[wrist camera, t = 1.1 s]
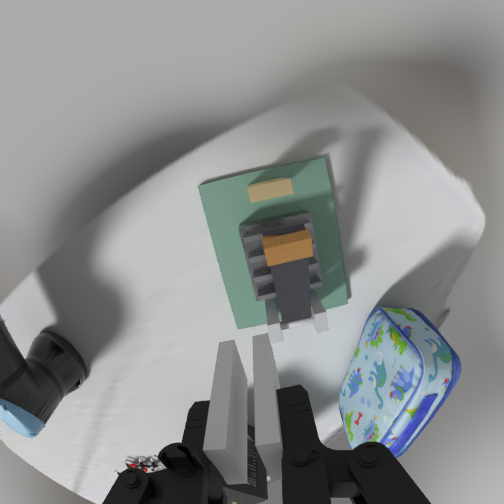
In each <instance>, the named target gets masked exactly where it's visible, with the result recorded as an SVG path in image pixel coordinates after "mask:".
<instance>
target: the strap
mask: <svg viewBox="0 0 504 504" xmlns="http://www.w3.org/2000/svg"><path fill="white" fill-rule="evenodd" d="M262 234H263V237H261V239H262V243H263V248H264V252H265V256H266V261H267V265H268V266H270V269H271V273H272V278H273V282H274V286H275V291H276V295H277V300H278V304H279V309H280V314H281V318H282V323H283V324H286V323H290V322H295V321H299V320H303V319H307V318H311V317H312V316H311V294H310V276H309V261H308V257H311V256H313V250H312V237H311V235H310V233H309V230H308V228H307V227H305V226H304V223H301V224H297V225H292V226H288V227H284V228H279V229H275V230H270V231H266V232H262Z"/></svg>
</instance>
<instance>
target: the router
mask: <svg viewBox="0 0 504 504" xmlns="http://www.w3.org/2000/svg"><path fill="white" fill-rule="evenodd" d="M267 476H269V474H268V472H267V470H266V468H265V466H264V463H263V461H262V459H261V457H260V455H259V453H258V450H257V448H256V446H255V428H253V427H251V426H249V425H247V483H245V484H230V485H228V484H227V483H226V482H225V480H224V483H223V489H224V490H225V491H226V495H227V504H257V503H259V502H262V501H265V500H267V499H268V494H267Z"/></svg>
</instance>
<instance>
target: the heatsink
mask: <svg viewBox="0 0 504 504" xmlns="http://www.w3.org/2000/svg"><path fill="white" fill-rule="evenodd" d="M301 223H304V226H305V227H307V228H308V230H309V233H310V235H311V237H312V250H313V256H311V257H308V261H309V276H310V289H313V288H317V287H321V286H323V281H322V275H321V269H320V262H319V256H318V250H317V245H316V239H315V234H314V228H313V223H312V218H311V212H309V211H307V210H306V209H305V210H301V211H296V212H291V213H287V214H282V215H278V216H274V217H269V218H265V219H260V220H256V221H252V222H247V223H243V224H239V228H238V229H239V233H240V237H241V241H242V245H243V249H244V253H245V257H246V261H247V265H248V269H249V273H250V277H251V281H252V285H253V289H254V293H255V297H256V301H262V300H266V299H271V298H275V297H277V295H276V291H275V286H274V282H273V278H272V273H271V269H270V266H268V265H267V261H266V256H265V252H264V248H263V243H262V239H261V237H263V234H262V232H266V231H270V230H275V229H279V228H284V227H288V226H292V225H297V224H301Z"/></svg>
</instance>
